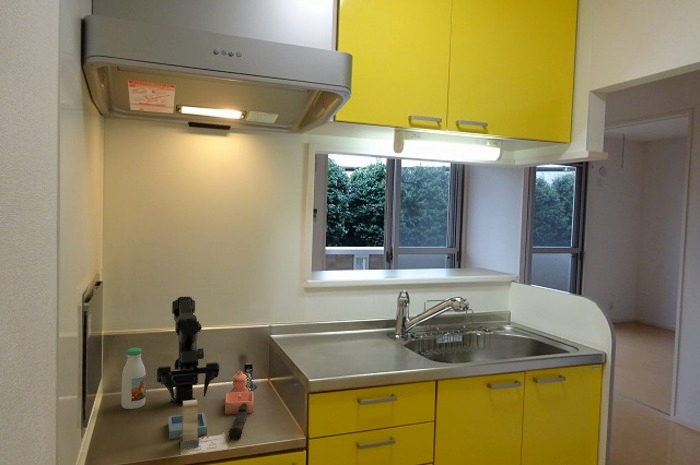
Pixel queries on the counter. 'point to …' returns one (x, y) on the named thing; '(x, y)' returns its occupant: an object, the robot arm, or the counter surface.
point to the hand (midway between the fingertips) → (189, 397)
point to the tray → (176, 426)
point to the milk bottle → (133, 380)
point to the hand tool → (238, 423)
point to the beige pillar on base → (189, 425)
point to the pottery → (239, 395)
